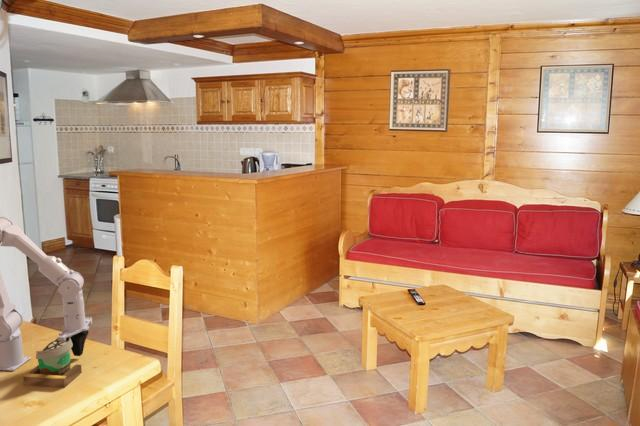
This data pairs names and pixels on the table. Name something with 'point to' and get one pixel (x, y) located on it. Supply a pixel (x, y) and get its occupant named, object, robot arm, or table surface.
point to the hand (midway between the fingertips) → (78, 354)
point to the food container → (55, 357)
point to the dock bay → (51, 377)
